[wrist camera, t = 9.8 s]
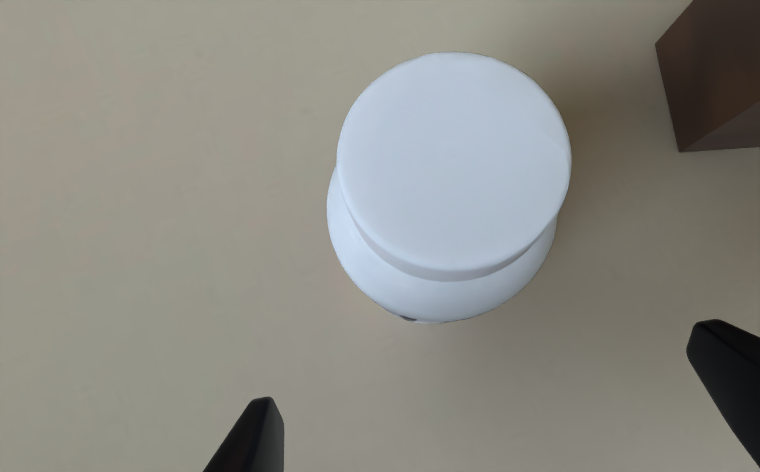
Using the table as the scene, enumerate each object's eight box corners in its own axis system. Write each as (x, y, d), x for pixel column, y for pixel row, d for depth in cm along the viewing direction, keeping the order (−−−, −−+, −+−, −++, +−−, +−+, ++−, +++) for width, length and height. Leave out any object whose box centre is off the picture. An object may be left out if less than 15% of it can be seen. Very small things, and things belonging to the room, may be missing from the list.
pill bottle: (488, 184, 17) (593, 1, 7) (504, 320, 16) (651, 309, 6) (355, 194, 17) (291, 29, 8) (361, 327, 16) (294, 329, 7)
